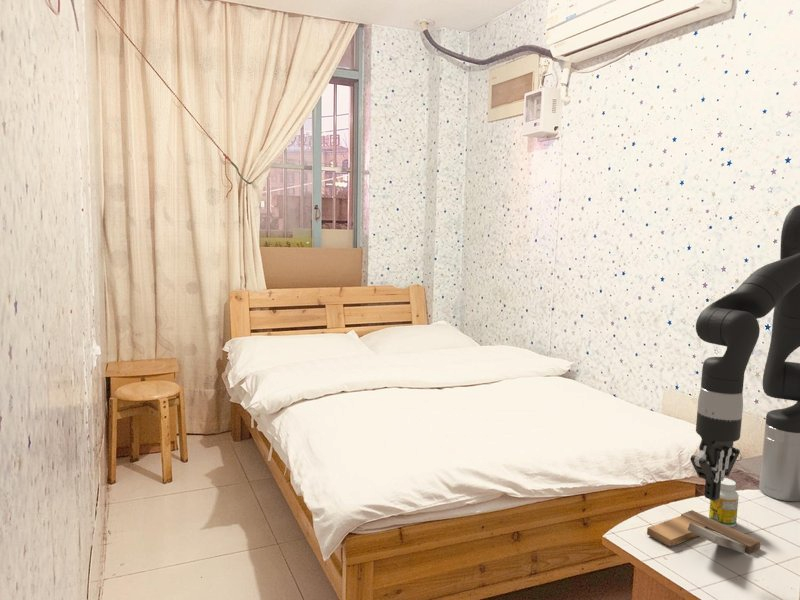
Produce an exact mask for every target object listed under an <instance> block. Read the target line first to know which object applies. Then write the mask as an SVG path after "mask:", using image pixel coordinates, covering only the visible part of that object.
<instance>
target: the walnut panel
mask: <svg viewBox="0 0 800 600" xmlns="http://www.w3.org/2000/svg"><path fill="white" fill-rule="evenodd" d="M680 516H684V517H687V518H689V519H691V520H693V521H695V522H697V523H699V524H701V525H703V526H706V529H709V530H712V531H715V532H718V533H720V534H723V535H725V536H727V537H729V538H731V539H733V540H735V541H737V542H739V543H742V544H744V545H746V548H745V551H744V553H746V554H748V555H750V554H752V553H754V552H755V551H758V550H760V549H761V540H759V539H756V538H755V537H752V536H750V535H747V534H745V533H743V532H741V531H738V530H736V529H734V528H733V527H731V528H730V527H728V526H726V525H724V524H721V523H719V522H717V521H715V520H713V519H710V518H709V516H706V515H705V514H701V513H699V512H697V511H695V510H692V509H691V510H688V511H685V512H684V513H681V514H680Z"/></svg>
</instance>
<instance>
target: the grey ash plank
mask: <svg viewBox="0 0 800 600" xmlns="http://www.w3.org/2000/svg"><path fill="white" fill-rule="evenodd" d="M688 531H690V532H692V533H694V534H696V535H698V536H697V537H700V538H703V539H705V540H706V541H709V542H711V543H713V544H715V545H718V546H722V547H724V548H728V549H731V550H734V551H736V552H740V553H742V554H744V553H745V552H744V551H745V548H746V545H744V544H742V543H739V542H737V541H735V540H733V539H731V538H729V537H727V536H725V535H723V534H720V533H718V532H715V531H712V530H709V529H706V528H703V527H700V526H697V525H695V524H692V523H690V524H689V527H688Z"/></svg>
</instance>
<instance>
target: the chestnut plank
mask: <svg viewBox="0 0 800 600" xmlns="http://www.w3.org/2000/svg"><path fill="white" fill-rule="evenodd" d="M690 523H692V524H695V525H697V526H700V527H703V528H706V526H703V525H701V524H699V523H697V522H695V521H693V520H691V519H689V518H687V517H684V516H681V515H679V516H677V517H674V518H671V519H668V520H666V521H663V522H659V523H657V524H654V525H651V526H649V527H647V530H646V535H647V536H649V537H651V538H653V539H655V540H657V541H659V542H660V543H662V544H664V545H666V546H668V547H673V546H676V545H678V544H680V543H684V542H686V541H689V540H692V539H694V538H696V537H699V536H698V535H696V534H694V533H692V532H690V531H688V527H689V524H690Z"/></svg>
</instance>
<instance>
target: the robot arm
mask: <svg viewBox="0 0 800 600" xmlns="http://www.w3.org/2000/svg"><path fill="white" fill-rule="evenodd" d="M780 235H781V236H780V250H779V251H780V252H779V253H780V254H779V257H780V259H778V260H776V261H773V262H770V263H767V264H765V265H763V266H761V267H759V268H758V269H756V270H755V271H753V272H752V273H751V274H750V275H749V276H747V278H746V279H745V280H744V281H743V282H742V283H741V284H740V285H739V286H738V287H737V288H736V289H735V290H733V291H732V292H730V293H728V294H725V295H724V296H722V297H721V298H719V299H717V300H715V301H713V302H712V303H710V304H709V305H708V306H706V307H705V308H704V309H703V310H702V311H701V312H700V314H699V316H698V317H697V319H696V321H695V322H696V323H695V331H696V334H697V336H698V337H699V338H700V340H702V341H703V342H705V343H708V344H712V345H717V346H722V347H726V350H725V352H724V354H723V355H722V356H710V357H707V358H705V360H704V361H703V364H702V370H701V381H700V391H699V394H698V401H697V408H696V409H697V413H696V424H695V425H696V426H695V432H696V433H697V435H698V436H699V437H700V438H701V441H700V444H699V448H698V450H699V452H698V454H697V455H694V454H692V455H691V456H690V462H691V463H692V466H693V468H694V470H695V473H696V474H697V477H699V478H701V479H703V480H705V484H704V494H703V495H704V497H705V499H708V500H709V501H710V500H712V501H715V500H717V499H719V498H720V487H721V481H723V480H724V478H725V477H729V476H730V474H731V472H732V470H733V467H734V466H735V463H736V461H737V460H738V457H739V455H740V453H741V450H740V449H739V448H736V447H734V443H735V442H737V441H739V440H740V438H741V433H742V419H743V410H744V397H743V395H744V393H743V392H744V381H745V373H746V369H747V366H748V364H749V362H750V359H751V356H752V354H753V352H754V350H755V347H756V344H757V342H758V341H759V340H758V339H759V337H760V331H761V330H760V323H759V321H758V319H761V318H764V317H765V316H767V315H768V314H769V313H770V312H771V311H772V310H773V314H772V315H773V316H772V317H773V318H772V325H771V335H770V336H771V337H770V344H769V347H768V353H767V358H766V362H765V366H764V369H763V370H764V371H763V375H762V376H763V377H762V389H763V392H764V394H765V395H766V396H768V397H770V398H773V399H780V400H787V401H794V402H796V403H795V404H793V405H790V406H787V407H783V408H779V409H778V408H777V409H772V410H770V411H768V412H767V413H766V416H765V425H764V434H763V436H764V437H763V445H762V446H763V447H762V455H761V457H762V458H761V465H760V476H759V484H758V485H759V486H758V490H759V491H760V492H761V493H762V494H764V495H766V496H768V497H770V498H773V499H777V500H779V501H785V502H800V362H795V361H786V360H787V359H788V357H789V356H790V355H791V354H792V353H793V352H794V351H796V350H797V349H799V348H800V204H797V205H795V206H794V207H792V208H790V210H789V211H788V213H787V214H786V216H785V218H784V221H783V224H782V229H781V234H780Z"/></svg>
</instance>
